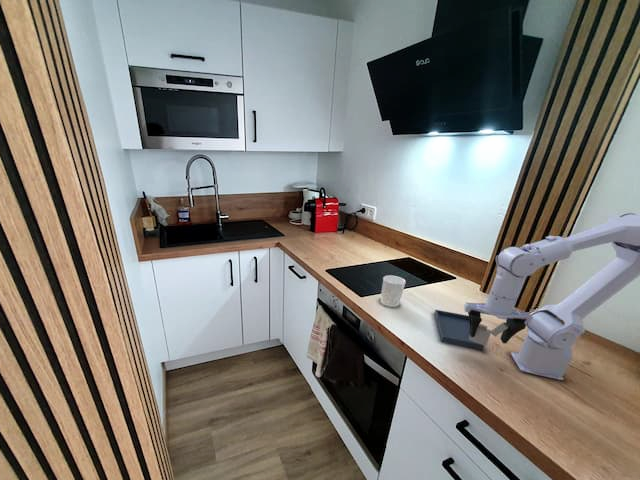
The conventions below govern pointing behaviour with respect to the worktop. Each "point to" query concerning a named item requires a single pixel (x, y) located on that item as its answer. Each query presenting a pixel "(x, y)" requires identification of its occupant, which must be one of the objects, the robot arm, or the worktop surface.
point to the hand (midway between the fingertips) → (486, 338)
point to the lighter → (487, 333)
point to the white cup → (392, 290)
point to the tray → (455, 329)
